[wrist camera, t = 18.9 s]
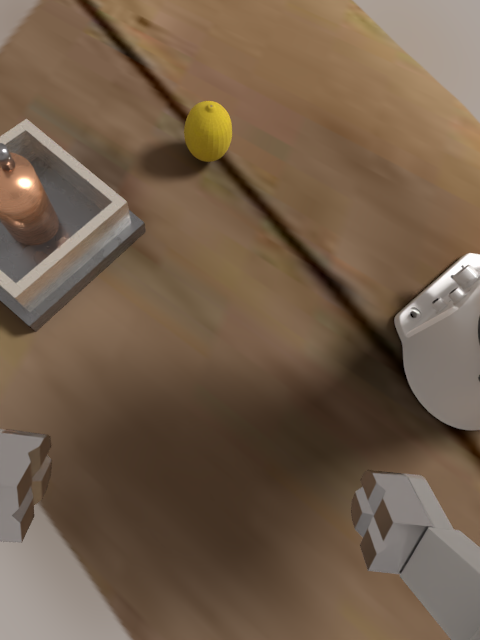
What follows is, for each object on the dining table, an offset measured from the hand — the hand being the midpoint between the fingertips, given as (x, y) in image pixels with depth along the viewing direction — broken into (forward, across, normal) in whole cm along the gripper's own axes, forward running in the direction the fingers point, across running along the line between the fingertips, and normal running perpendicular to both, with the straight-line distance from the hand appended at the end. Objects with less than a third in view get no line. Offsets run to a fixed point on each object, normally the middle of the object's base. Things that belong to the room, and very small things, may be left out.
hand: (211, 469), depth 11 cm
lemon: (+48, +2, -3) cm, 48 cm away
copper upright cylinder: (+36, +19, +6) cm, 41 cm away
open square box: (+37, +19, +7) cm, 42 cm away
